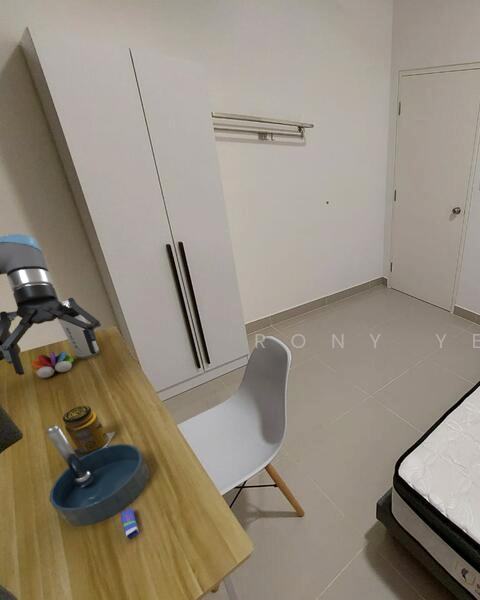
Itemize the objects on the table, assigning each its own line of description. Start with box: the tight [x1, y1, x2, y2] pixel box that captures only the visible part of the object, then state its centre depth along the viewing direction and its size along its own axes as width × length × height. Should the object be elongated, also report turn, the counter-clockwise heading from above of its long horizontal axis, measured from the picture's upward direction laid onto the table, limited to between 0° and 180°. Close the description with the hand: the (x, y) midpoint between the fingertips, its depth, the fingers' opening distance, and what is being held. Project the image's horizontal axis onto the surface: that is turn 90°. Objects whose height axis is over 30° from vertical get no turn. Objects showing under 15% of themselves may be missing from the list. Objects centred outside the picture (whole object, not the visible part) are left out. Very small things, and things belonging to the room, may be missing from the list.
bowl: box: [49, 443, 150, 527], centre depth 76 cm, size 16×16×6 cm
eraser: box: [120, 507, 140, 540], centre depth 71 cm, size 2×6×2 cm, turn 44°
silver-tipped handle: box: [45, 424, 94, 487], centre depth 73 cm, size 4×4×19 cm
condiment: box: [62, 405, 116, 464], centre depth 84 cm, size 7×8×12 cm
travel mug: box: [56, 306, 100, 360], centre depth 116 cm, size 6×7×20 cm
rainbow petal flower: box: [30, 350, 74, 379], centre depth 110 cm, size 8×10×7 cm
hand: (58, 362), depth 84 cm, fingers open, 13 cm apart
